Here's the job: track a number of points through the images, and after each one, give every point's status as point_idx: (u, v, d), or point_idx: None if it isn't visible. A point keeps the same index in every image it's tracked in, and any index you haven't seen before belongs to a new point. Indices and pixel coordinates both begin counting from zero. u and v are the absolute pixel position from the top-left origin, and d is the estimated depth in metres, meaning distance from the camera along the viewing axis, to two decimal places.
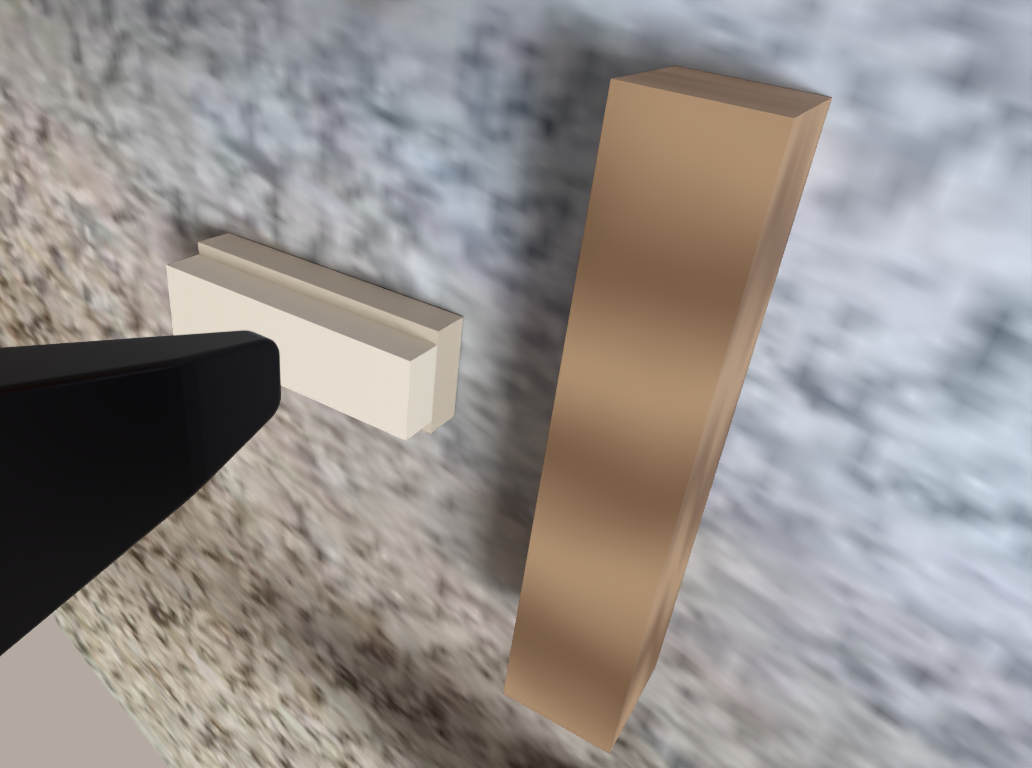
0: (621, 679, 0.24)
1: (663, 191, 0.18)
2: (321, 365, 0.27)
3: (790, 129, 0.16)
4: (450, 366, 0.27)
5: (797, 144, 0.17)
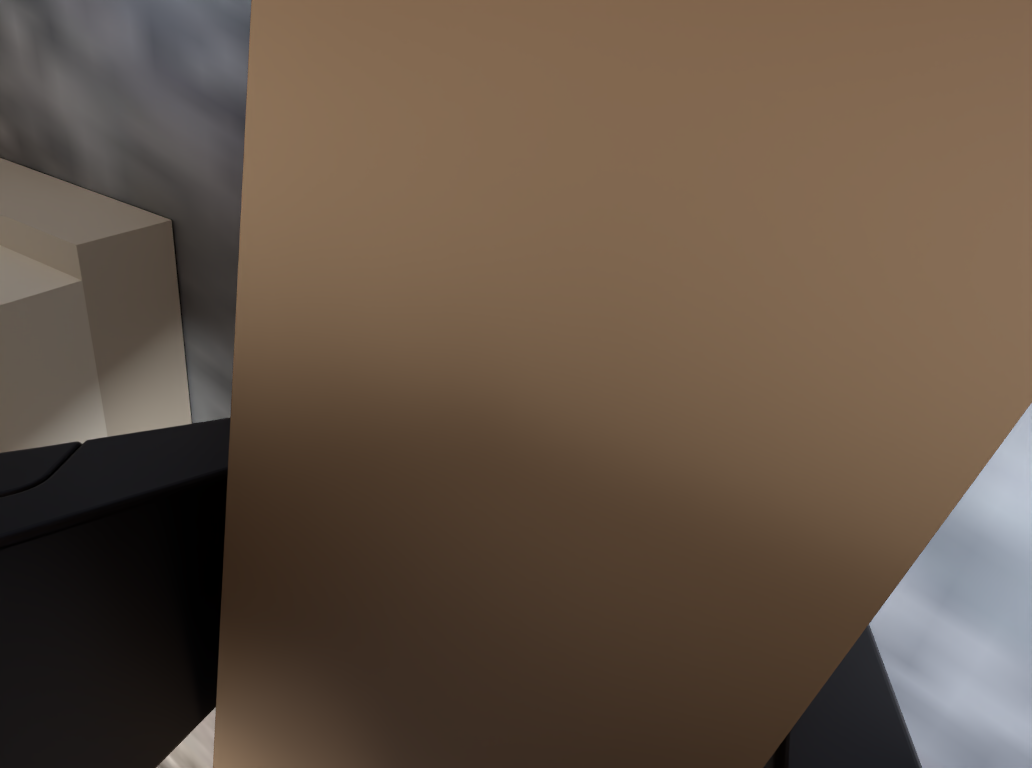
0: None
1: None
2: None
3: None
4: (151, 336, 0.12)
5: None
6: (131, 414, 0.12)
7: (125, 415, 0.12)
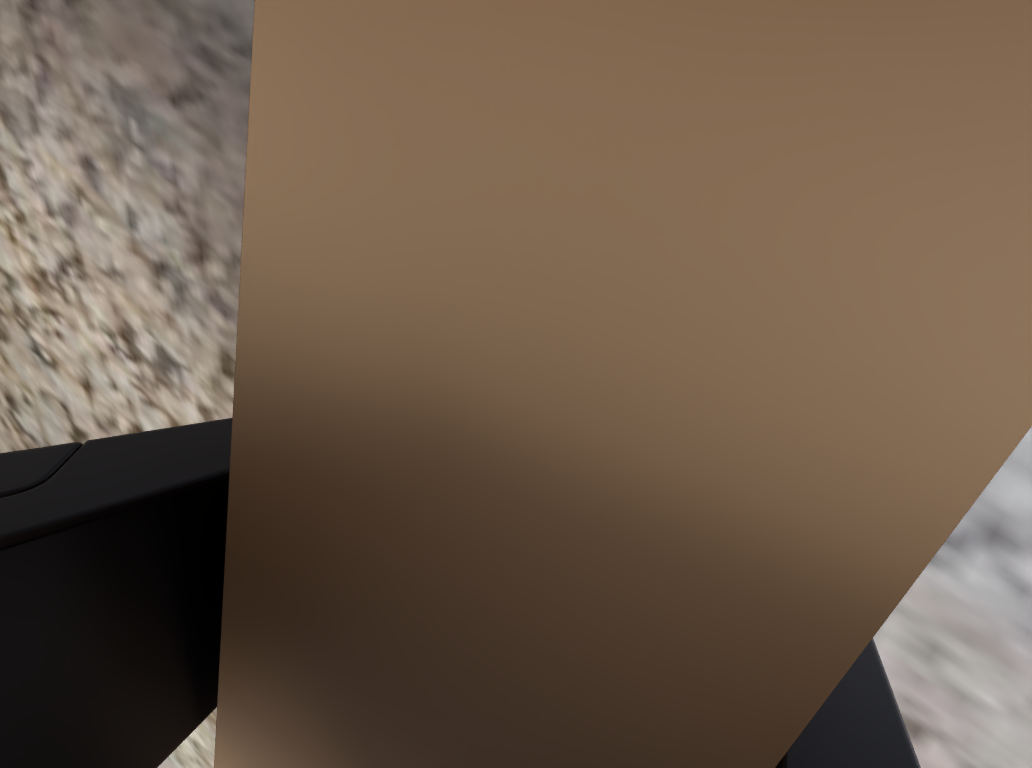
0: None
1: None
2: None
3: None
4: None
5: None
6: None
7: None
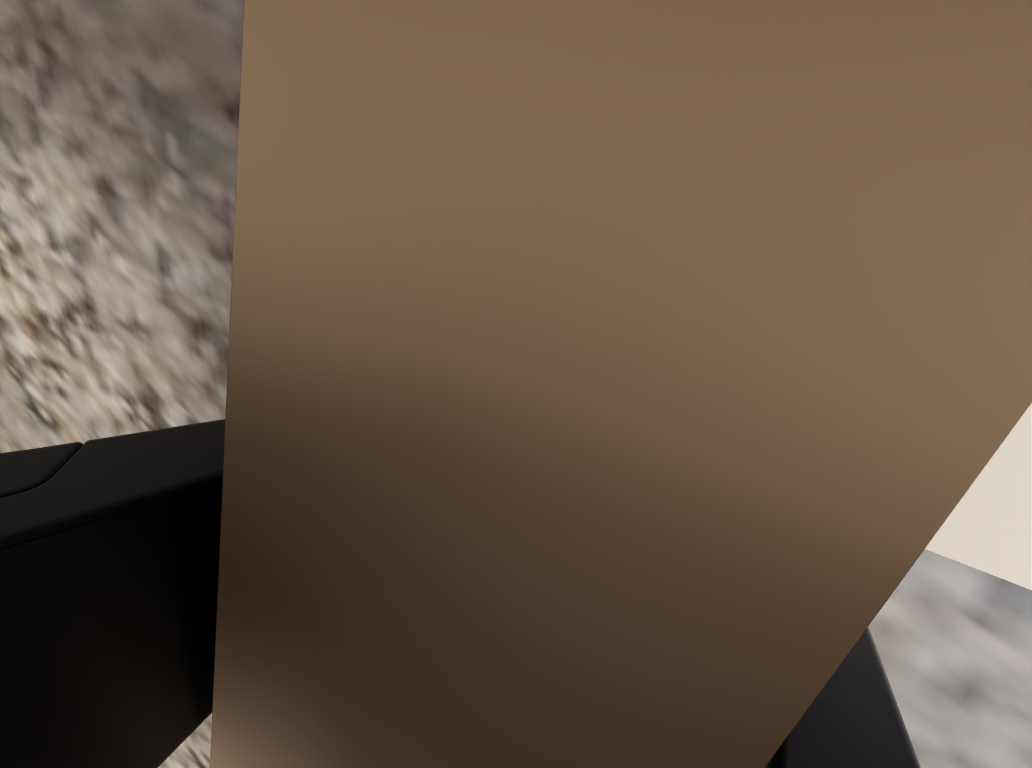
0: None
1: None
2: None
3: None
4: None
5: None
6: None
7: None
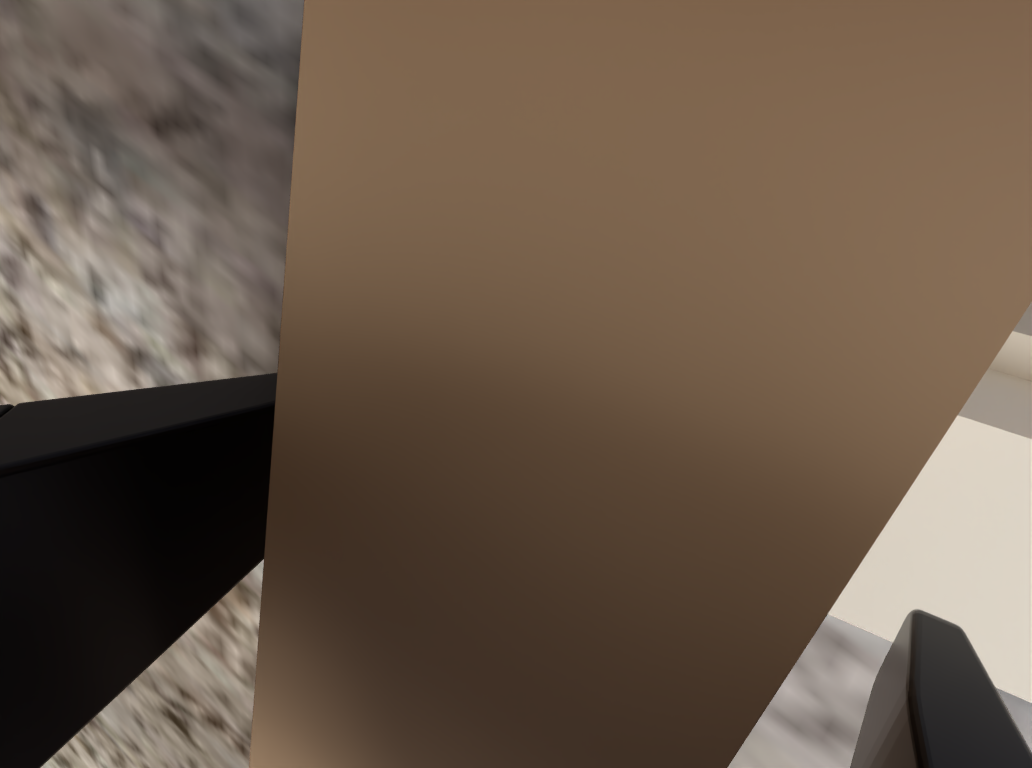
0: None
1: None
2: None
3: None
4: None
5: None
6: None
7: None
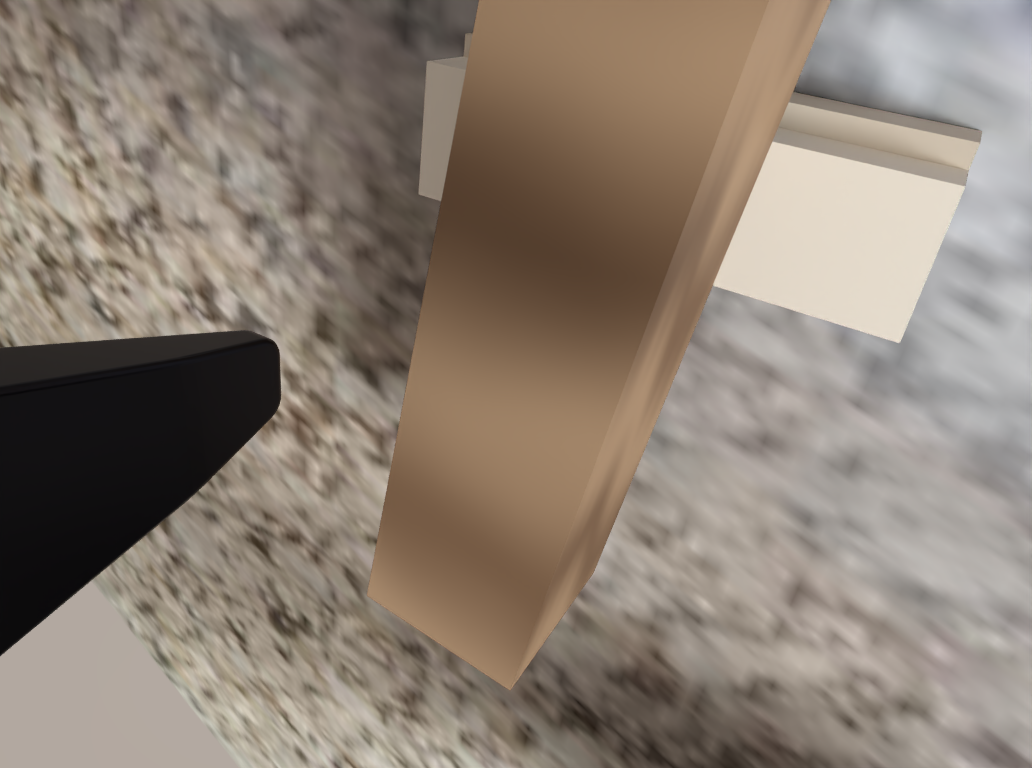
0: (536, 581, 0.16)
1: None
2: None
3: None
4: None
5: None
6: None
7: None
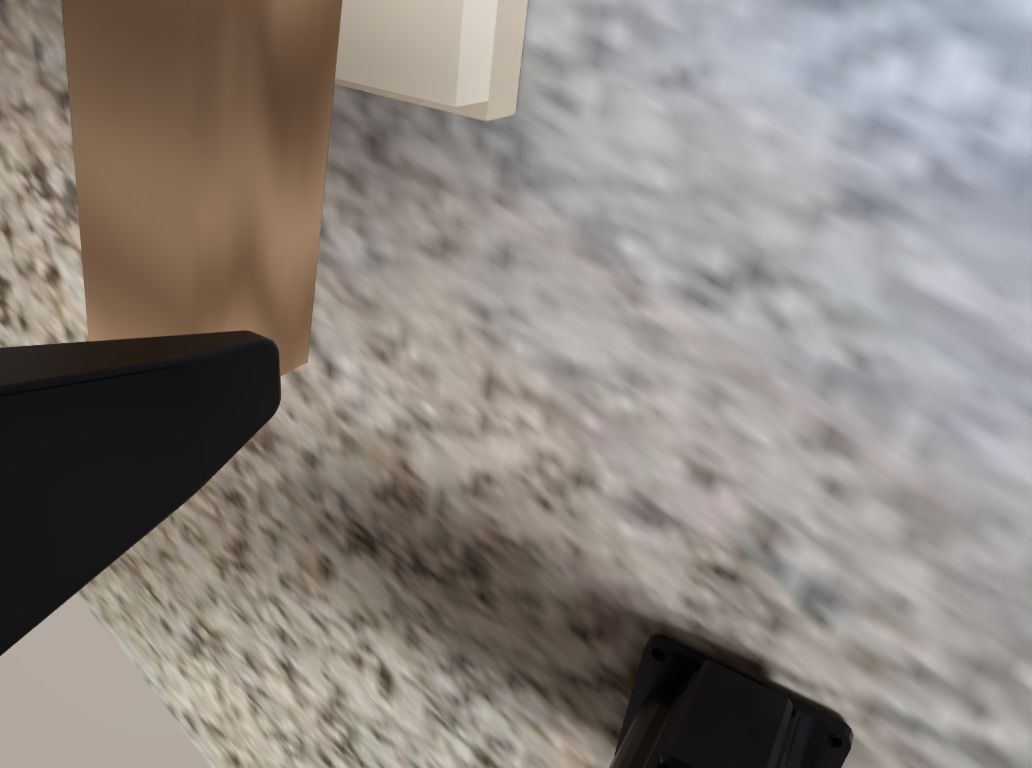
0: (183, 309, 0.19)
1: None
2: None
3: None
4: (514, 21, 0.20)
5: None
6: (499, 71, 0.20)
7: (497, 70, 0.20)
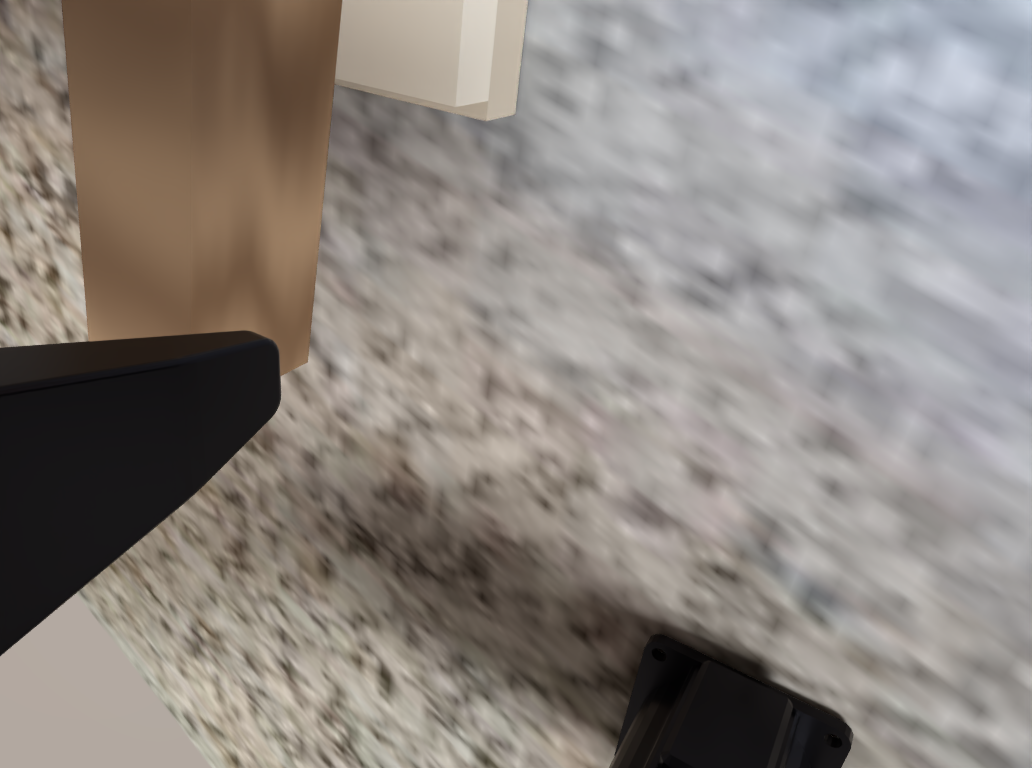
0: (183, 309, 0.19)
1: None
2: None
3: None
4: (514, 21, 0.20)
5: None
6: (499, 71, 0.20)
7: (497, 70, 0.20)
